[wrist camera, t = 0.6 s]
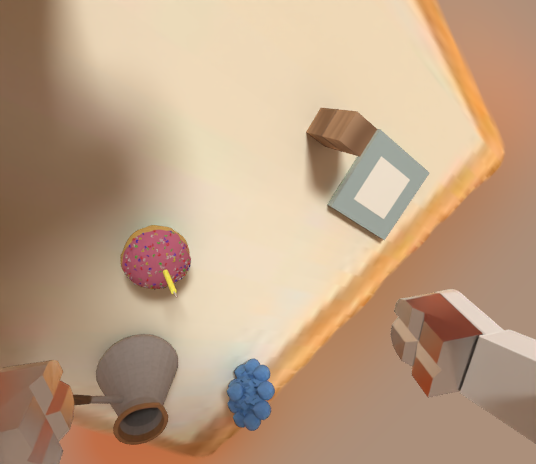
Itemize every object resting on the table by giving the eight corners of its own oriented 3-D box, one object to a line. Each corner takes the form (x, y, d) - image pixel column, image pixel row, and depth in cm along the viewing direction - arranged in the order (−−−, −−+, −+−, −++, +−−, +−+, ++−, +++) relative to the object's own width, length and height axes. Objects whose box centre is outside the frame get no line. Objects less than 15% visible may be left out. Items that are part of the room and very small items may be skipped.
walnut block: (305, 132, 50) (338, 140, 43) (320, 107, 50) (357, 110, 42) (325, 146, 52) (360, 157, 45) (339, 122, 52) (377, 129, 44)
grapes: (231, 337, 59) (254, 390, 49) (264, 343, 62) (292, 394, 52) (205, 391, 61) (221, 452, 51) (238, 394, 64) (259, 452, 54)
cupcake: (197, 239, 50) (216, 279, 40) (158, 282, 50) (167, 332, 40) (149, 203, 46) (156, 237, 36) (106, 250, 46) (101, 297, 36)
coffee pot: (190, 343, 56) (209, 418, 44) (145, 394, 57) (151, 484, 44) (65, 280, 46) (42, 356, 33) (11, 344, 46) (-33, 444, 33)
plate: (327, 204, 56) (331, 206, 55) (375, 128, 54) (380, 129, 53) (380, 237, 63) (384, 240, 62) (424, 171, 61) (429, 172, 60)
